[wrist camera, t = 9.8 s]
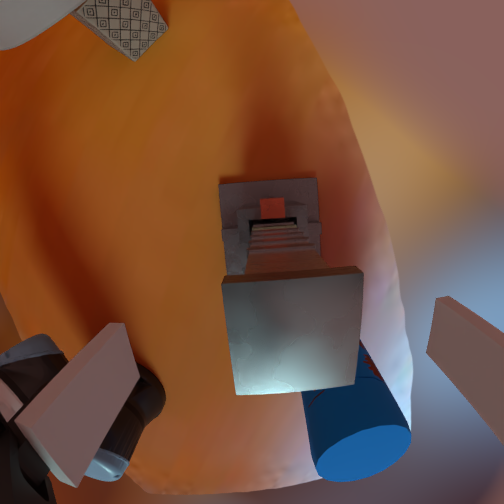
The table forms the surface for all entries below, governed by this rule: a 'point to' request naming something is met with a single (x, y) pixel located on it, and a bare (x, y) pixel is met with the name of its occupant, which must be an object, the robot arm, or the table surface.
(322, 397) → the thermos
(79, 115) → the table surface
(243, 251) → the stand base
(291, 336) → the column
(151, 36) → the lamp
